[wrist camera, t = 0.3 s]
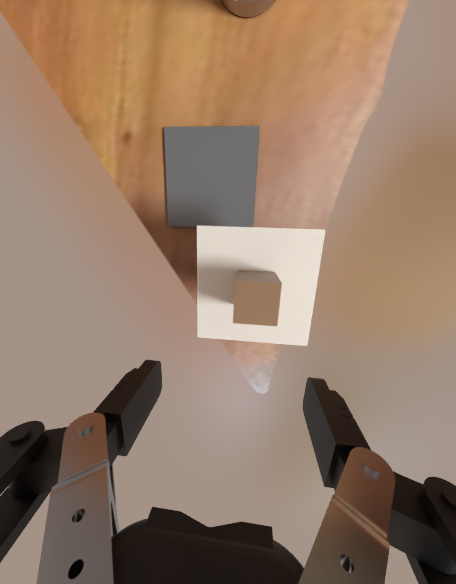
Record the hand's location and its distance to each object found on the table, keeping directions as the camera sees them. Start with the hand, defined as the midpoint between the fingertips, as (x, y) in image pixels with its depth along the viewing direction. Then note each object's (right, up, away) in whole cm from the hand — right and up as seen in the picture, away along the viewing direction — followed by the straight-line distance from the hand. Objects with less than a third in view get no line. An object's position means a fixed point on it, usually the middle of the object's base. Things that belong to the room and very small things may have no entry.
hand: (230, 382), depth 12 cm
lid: (+3, +5, +13) cm, 14 cm away
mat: (-3, +23, +24) cm, 34 cm away
